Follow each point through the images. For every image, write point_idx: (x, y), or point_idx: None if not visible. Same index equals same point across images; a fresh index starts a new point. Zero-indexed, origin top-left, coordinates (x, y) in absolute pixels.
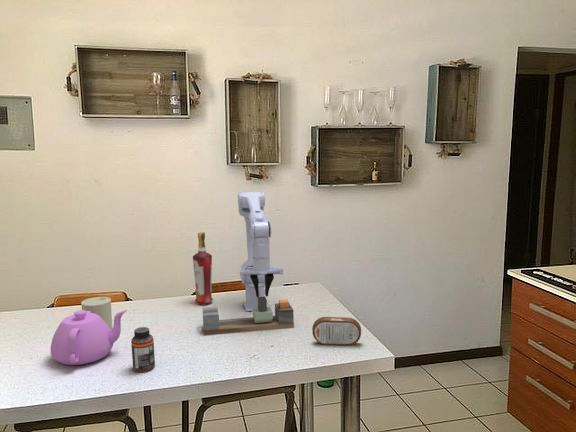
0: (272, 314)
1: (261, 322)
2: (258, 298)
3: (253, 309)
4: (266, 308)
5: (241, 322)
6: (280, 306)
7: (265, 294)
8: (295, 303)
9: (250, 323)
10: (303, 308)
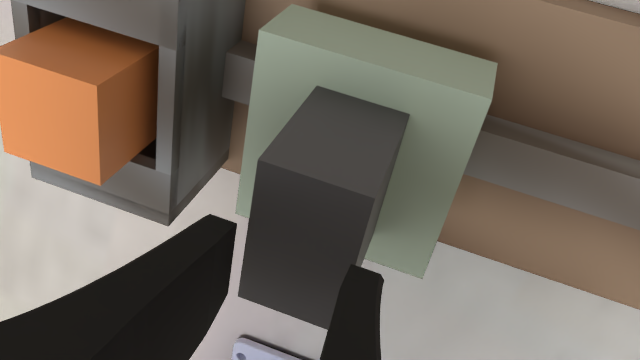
0: (272, 19)
1: None
2: None
3: (439, 227)
4: (308, 103)
5: (616, 159)
6: (126, 67)
7: (224, 274)
8: None
9: (524, 108)
10: (4, 226)
